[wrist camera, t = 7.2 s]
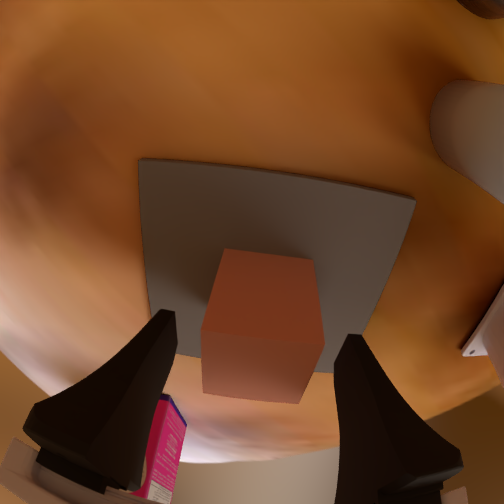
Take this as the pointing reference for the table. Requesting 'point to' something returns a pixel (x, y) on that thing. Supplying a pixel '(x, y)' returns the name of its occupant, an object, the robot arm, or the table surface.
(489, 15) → the metal tin
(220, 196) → the charcoal mat
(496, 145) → the grey domed cylinder
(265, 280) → the red block
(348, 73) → the table surface
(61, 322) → the table surface
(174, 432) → the supplement box
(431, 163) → the table surface
